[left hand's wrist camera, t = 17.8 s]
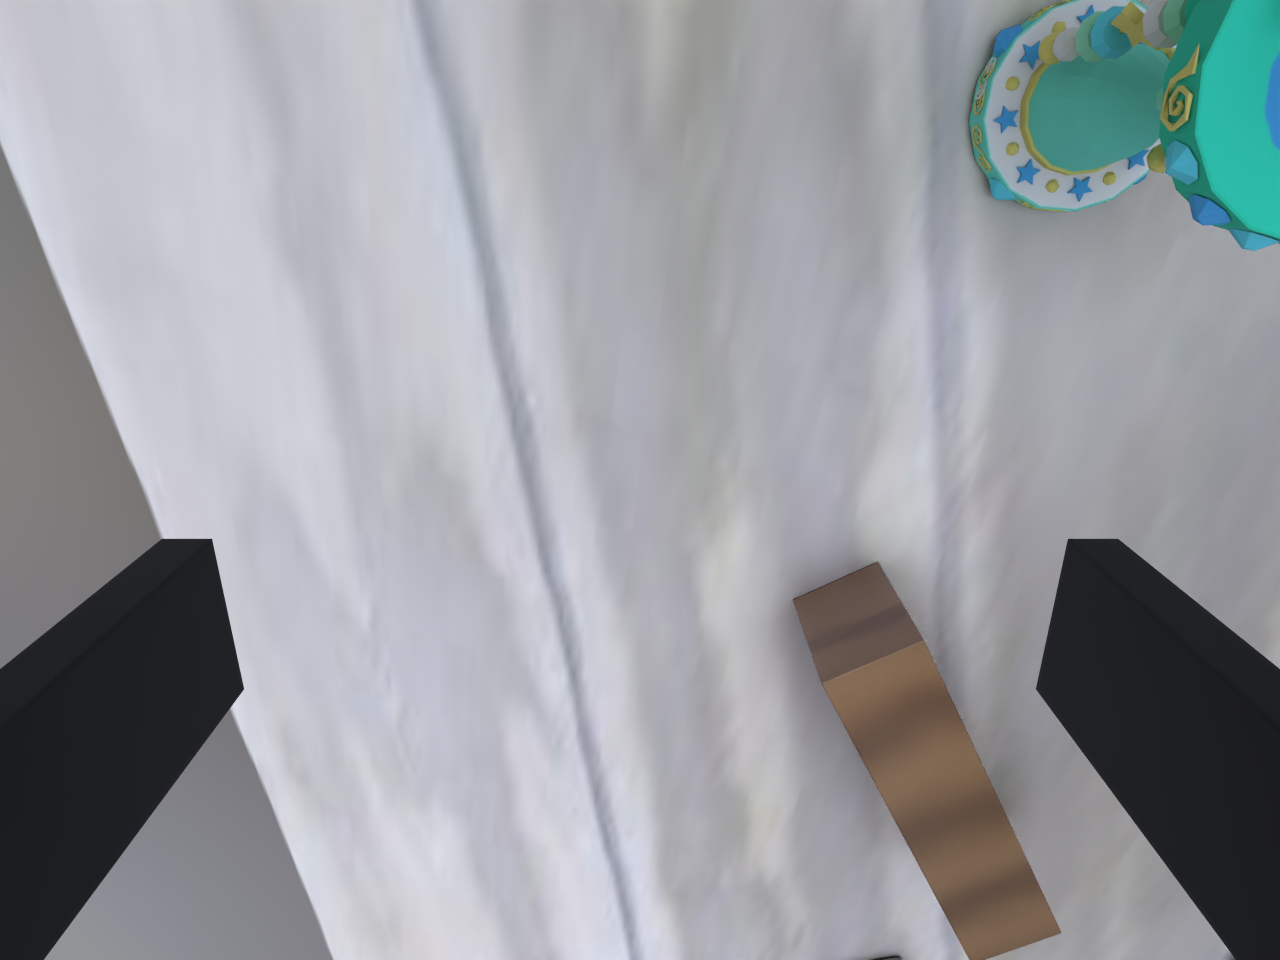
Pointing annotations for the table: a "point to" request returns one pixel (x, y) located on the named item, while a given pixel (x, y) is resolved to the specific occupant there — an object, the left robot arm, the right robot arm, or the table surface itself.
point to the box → (923, 762)
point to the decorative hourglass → (1138, 108)
